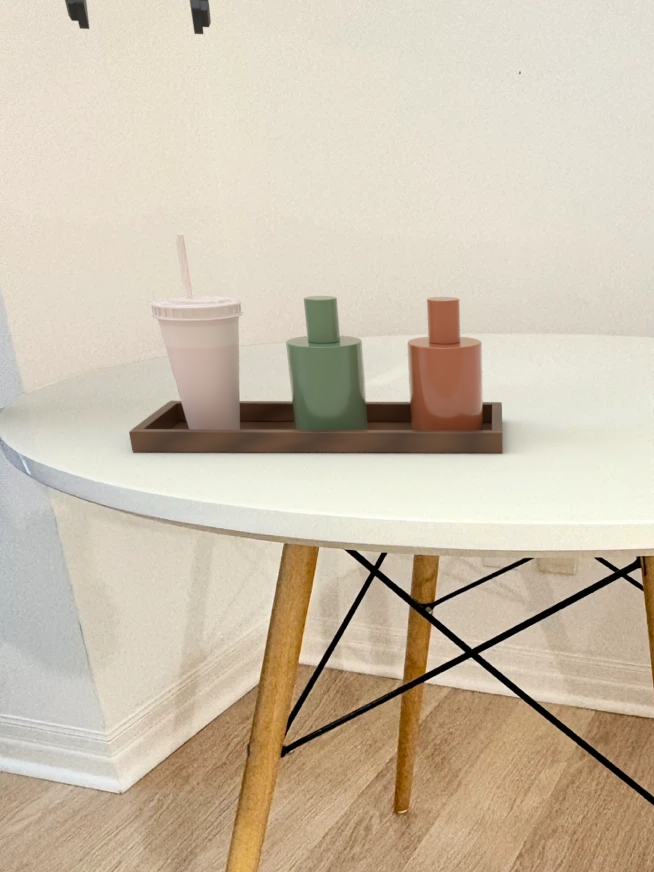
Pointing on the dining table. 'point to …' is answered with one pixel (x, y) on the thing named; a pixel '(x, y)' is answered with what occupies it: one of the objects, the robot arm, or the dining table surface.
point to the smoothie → (202, 352)
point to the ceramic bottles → (345, 383)
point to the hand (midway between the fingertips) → (141, 21)
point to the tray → (313, 433)
